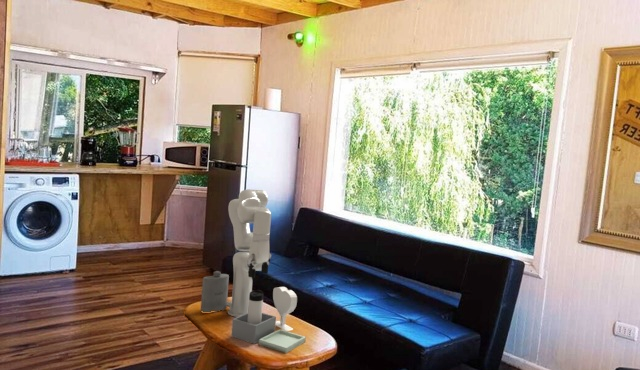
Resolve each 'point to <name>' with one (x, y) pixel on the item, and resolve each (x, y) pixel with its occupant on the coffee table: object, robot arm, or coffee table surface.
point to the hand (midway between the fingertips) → (258, 275)
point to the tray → (282, 340)
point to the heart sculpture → (284, 305)
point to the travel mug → (255, 307)
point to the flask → (214, 292)
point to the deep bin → (253, 328)
